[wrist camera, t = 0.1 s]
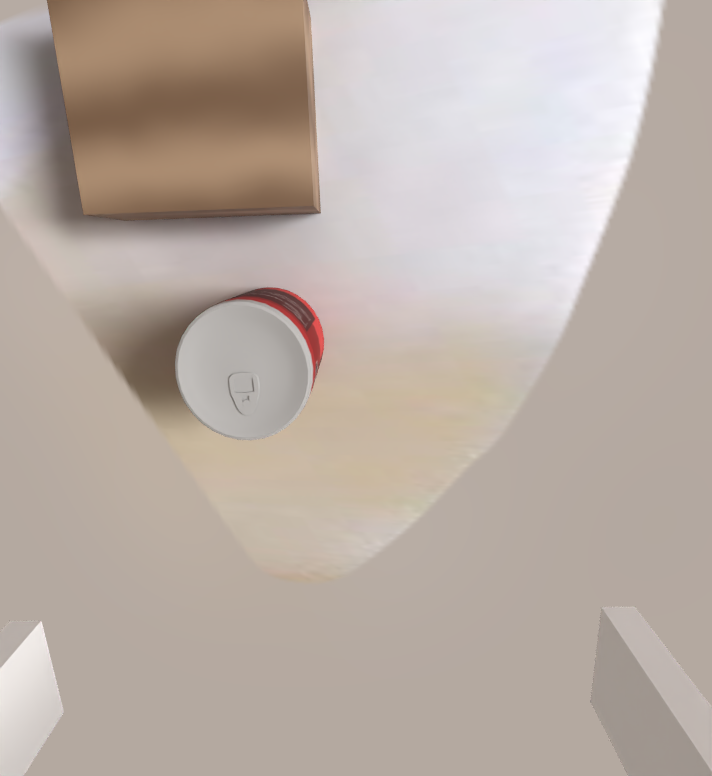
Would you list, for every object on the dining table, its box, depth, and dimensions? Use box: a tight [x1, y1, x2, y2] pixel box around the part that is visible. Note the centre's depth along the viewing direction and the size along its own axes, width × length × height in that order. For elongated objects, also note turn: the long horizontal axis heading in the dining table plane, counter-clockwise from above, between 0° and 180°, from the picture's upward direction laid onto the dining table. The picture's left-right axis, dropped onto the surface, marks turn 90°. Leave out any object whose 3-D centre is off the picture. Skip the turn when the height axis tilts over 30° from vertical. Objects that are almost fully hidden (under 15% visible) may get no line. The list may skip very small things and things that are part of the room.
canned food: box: [175, 288, 324, 440], centre depth 33 cm, size 8×8×11 cm
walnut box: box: [47, 0, 321, 220], centre depth 31 cm, size 12×14×6 cm
